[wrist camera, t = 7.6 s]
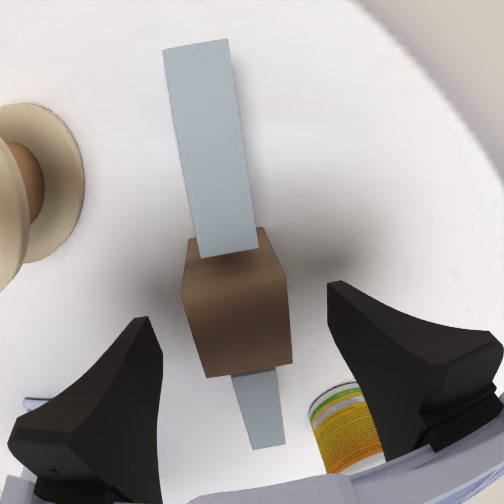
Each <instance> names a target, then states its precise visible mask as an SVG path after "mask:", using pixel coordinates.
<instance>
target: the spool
mask: <svg viewBox="0 0 504 504" xmlns="http://www.w3.org/2000/svg"><path fill="white" fill-rule="evenodd" d="M83 197H84V171H83V165H82V160H81V156H80V153H79V150H78V147H77V145H76V142H75V140H74V138H73V136H72V134H71V133H70V131H69V130H68V128H67V127H66V126H65V124H64V123H63V122H62V121H61V120H60V119H59V118H58V117H57V116H56V115H55V114H53V113H52V112H51V111H49V110H47V109H45V108H43V107H40V106H37V105H33V104H12V105H7V106H3V107H1V108H0V292H1V291H2V290H3V289H4V288H5V287H6V286H7V285H8V284H9V283H10V282H11V280H12V279H13V278H14V277H15V276H16V274H17V273H18V272H19V270H20V268H21V266H22V264H23V263H30V262H36V261H39V260H42V259H43V258H45V257H47V256H49V255H50V254H51V253H53V252H54V251H55V250H56V249H57V248H58V247H59V246H60V245H61V244H62V243H63V242H64V241H65V240H66V239H67V237H68V236H69V235H70V233H71V232H72V230H73V228H74V227H75V225H76V223H77V220H78V218H79V215H80V212H81V208H82V204H83Z"/></svg>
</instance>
